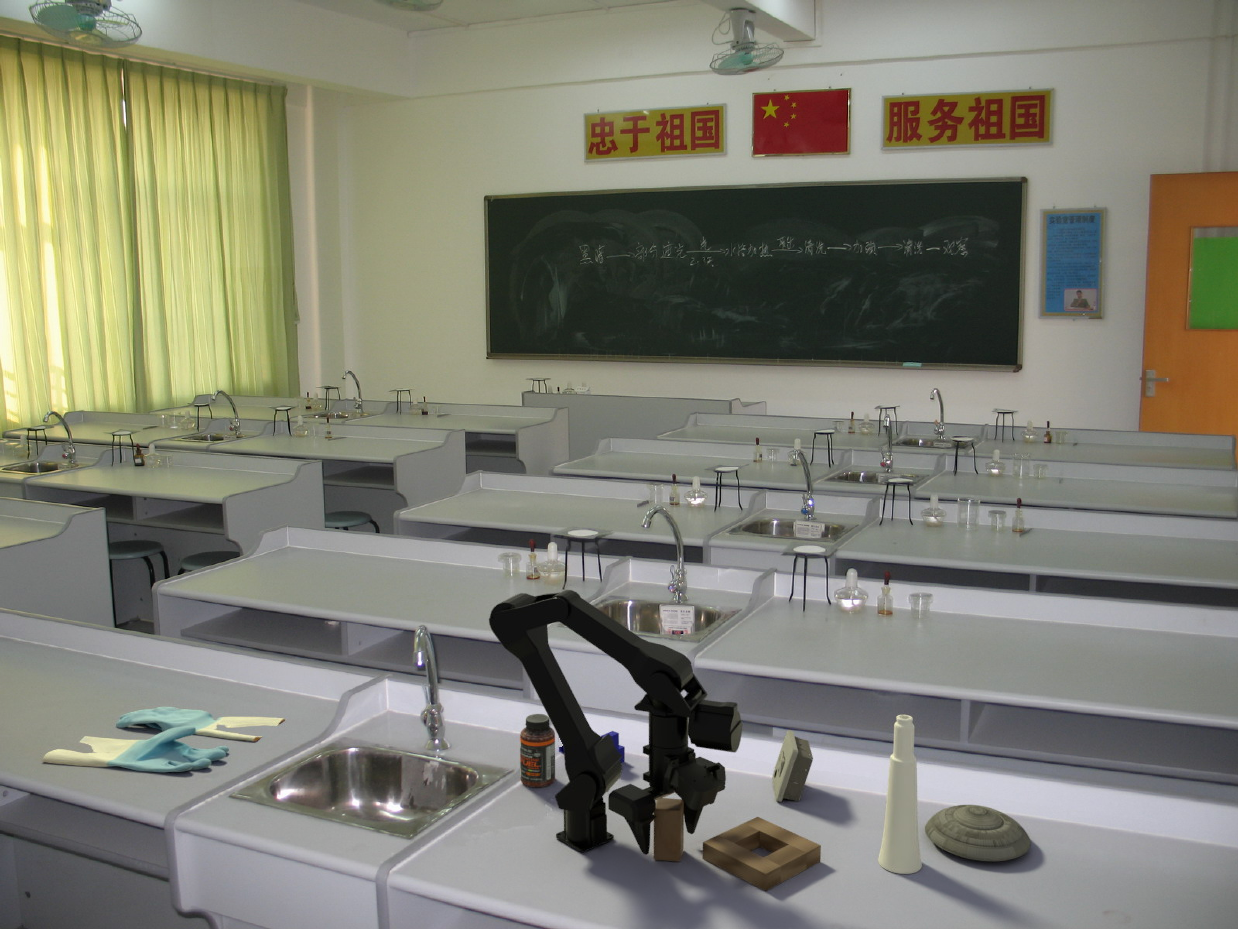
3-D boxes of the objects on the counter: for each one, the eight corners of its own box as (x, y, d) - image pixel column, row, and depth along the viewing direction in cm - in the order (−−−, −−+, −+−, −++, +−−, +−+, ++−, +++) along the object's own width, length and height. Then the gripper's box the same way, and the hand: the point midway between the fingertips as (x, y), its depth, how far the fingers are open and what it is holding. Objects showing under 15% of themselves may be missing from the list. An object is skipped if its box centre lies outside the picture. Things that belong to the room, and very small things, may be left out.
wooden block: (680, 863, 153) (680, 810, 152) (653, 861, 154) (653, 808, 153) (683, 850, 157) (684, 798, 156) (657, 847, 158) (657, 796, 157)
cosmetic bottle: (896, 878, 149) (900, 728, 146) (869, 858, 154) (873, 713, 151) (930, 869, 151) (936, 721, 148) (903, 850, 157) (908, 707, 154)
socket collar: (702, 858, 155) (702, 842, 154) (757, 832, 162) (757, 816, 162) (765, 891, 146) (765, 874, 145) (820, 861, 153) (820, 845, 153)
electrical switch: (771, 779, 181) (777, 727, 180) (801, 782, 181) (808, 731, 180) (775, 804, 172) (782, 749, 171) (807, 808, 172) (814, 753, 170)
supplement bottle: (514, 786, 179) (513, 721, 178) (529, 772, 185) (528, 709, 183) (546, 791, 177) (546, 726, 175) (561, 776, 183) (560, 713, 181)
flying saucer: (913, 820, 167) (914, 787, 166) (1010, 821, 166) (1011, 787, 166) (940, 869, 152) (941, 833, 151) (1046, 870, 151) (1048, 833, 151)
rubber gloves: (140, 710, 216) (137, 680, 215) (286, 722, 209) (285, 690, 209) (41, 765, 190) (38, 731, 189) (206, 780, 183) (203, 745, 182)
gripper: (660, 777, 141) (660, 887, 143) (753, 740, 153) (752, 842, 155) (605, 752, 149) (606, 856, 152) (698, 719, 162) (697, 816, 164)
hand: (668, 843), depth 155 cm, fingers open, 9 cm apart
